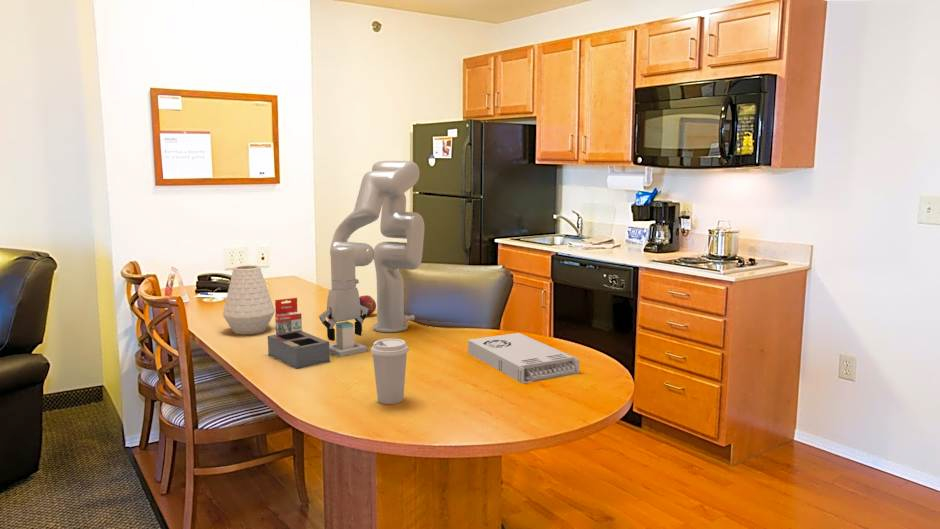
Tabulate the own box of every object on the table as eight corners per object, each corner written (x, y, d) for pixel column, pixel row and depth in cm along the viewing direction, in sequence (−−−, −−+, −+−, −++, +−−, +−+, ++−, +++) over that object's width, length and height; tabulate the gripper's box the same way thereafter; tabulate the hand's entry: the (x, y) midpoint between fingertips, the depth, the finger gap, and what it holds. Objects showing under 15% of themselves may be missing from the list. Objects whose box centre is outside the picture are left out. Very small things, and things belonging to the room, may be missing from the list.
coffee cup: (372, 393, 173) (371, 338, 171) (409, 392, 174) (408, 337, 171) (370, 407, 163) (369, 348, 161) (409, 406, 164) (408, 347, 162)
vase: (213, 334, 231) (209, 269, 228) (247, 323, 247) (243, 262, 244) (253, 339, 225) (249, 272, 221) (285, 327, 241) (282, 265, 237)
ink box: (302, 341, 222) (301, 299, 220) (279, 345, 218) (277, 301, 216) (299, 339, 225) (297, 297, 223) (276, 342, 221) (274, 299, 219)
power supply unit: (523, 386, 181) (523, 368, 180) (467, 355, 210) (467, 339, 209) (579, 375, 190) (579, 359, 189) (518, 347, 218) (518, 332, 218)
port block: (300, 348, 215) (300, 329, 214) (329, 361, 200) (329, 341, 200) (268, 354, 208) (267, 335, 207) (296, 368, 193) (295, 347, 192)
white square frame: (350, 344, 219) (350, 340, 219) (367, 351, 211) (367, 346, 211) (323, 350, 212) (323, 345, 212) (339, 357, 205) (339, 352, 205)
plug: (347, 348, 215) (346, 321, 213) (354, 350, 212) (353, 323, 210) (336, 350, 212) (335, 323, 211) (343, 353, 209) (342, 325, 208)
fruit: (380, 315, 261) (379, 295, 259) (366, 318, 254) (366, 298, 253) (365, 312, 265) (364, 293, 264) (351, 316, 258) (351, 296, 257)
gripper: (360, 280, 217) (362, 330, 220) (312, 286, 206) (314, 339, 208) (373, 283, 211) (374, 335, 214) (324, 290, 200) (326, 344, 203)
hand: (345, 337), depth 211 cm, fingers open, 9 cm apart
